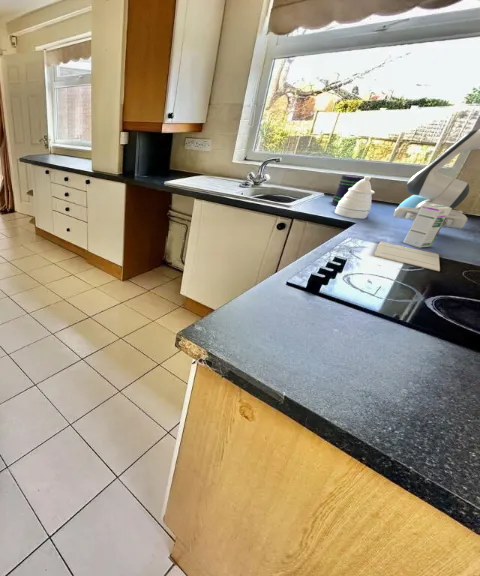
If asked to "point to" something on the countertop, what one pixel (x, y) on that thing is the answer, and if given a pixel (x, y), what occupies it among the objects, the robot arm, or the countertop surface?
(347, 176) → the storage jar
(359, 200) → the honey pot
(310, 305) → the countertop surface
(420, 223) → the syrup box
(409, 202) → the sugar bowl
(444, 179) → the robot arm
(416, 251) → the wooden board
